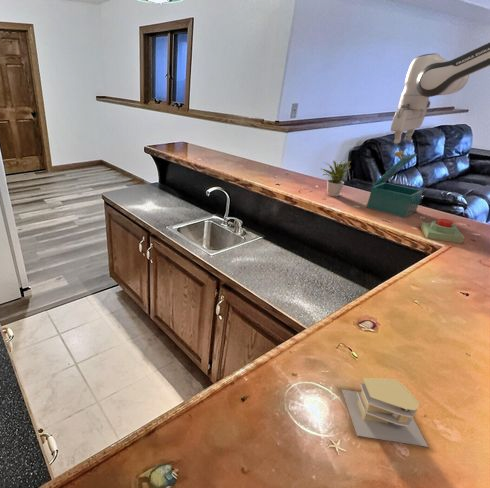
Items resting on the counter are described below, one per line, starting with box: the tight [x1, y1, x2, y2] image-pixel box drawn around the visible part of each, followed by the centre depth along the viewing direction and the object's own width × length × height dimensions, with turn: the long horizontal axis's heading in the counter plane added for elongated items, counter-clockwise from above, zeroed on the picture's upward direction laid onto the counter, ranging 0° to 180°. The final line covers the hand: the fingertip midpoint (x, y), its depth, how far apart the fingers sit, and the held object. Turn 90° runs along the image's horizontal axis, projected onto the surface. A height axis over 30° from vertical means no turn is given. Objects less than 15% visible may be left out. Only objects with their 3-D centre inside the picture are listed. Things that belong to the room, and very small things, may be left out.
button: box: [437, 218, 454, 227], centre depth 120 cm, size 4×4×2 cm
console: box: [419, 220, 465, 244], centre depth 121 cm, size 10×10×4 cm
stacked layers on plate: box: [341, 377, 429, 448], centre depth 56 cm, size 10×9×6 cm
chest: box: [366, 182, 424, 218], centre depth 143 cm, size 15×12×9 cm
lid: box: [371, 150, 417, 187], centre depth 141 cm, size 15×12×5 cm
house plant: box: [320, 159, 352, 197], centre depth 160 cm, size 14×14×16 cm
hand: (401, 141), depth 136 cm, fingers open, 8 cm apart
